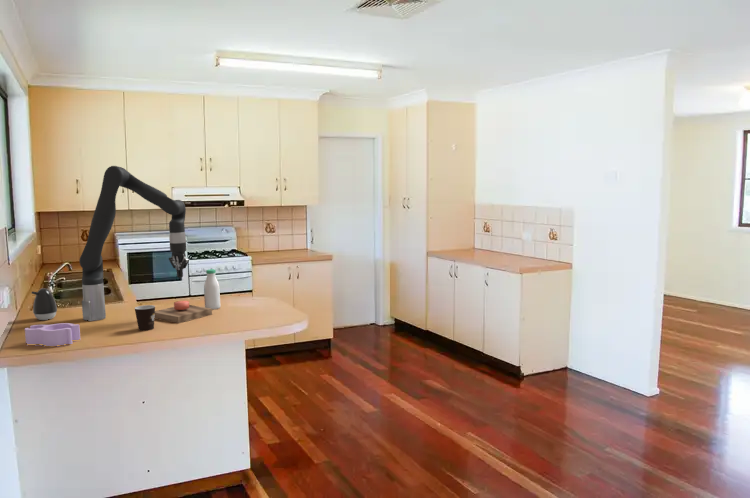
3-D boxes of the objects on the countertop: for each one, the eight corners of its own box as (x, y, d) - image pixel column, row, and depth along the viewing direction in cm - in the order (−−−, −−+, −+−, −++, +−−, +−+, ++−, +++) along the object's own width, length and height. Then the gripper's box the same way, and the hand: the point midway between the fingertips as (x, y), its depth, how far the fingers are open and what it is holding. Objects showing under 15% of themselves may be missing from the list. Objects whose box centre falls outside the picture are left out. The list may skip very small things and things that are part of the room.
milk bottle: (223, 307, 315) (221, 269, 313) (212, 310, 309) (210, 271, 306) (213, 306, 320) (211, 268, 317) (201, 308, 313) (199, 270, 311)
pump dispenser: (30, 319, 296) (27, 288, 294) (53, 315, 303) (50, 285, 301) (37, 322, 289) (35, 291, 287) (61, 318, 296) (58, 288, 295)
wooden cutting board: (178, 323, 283) (178, 316, 283) (151, 318, 295) (151, 311, 294) (212, 314, 300) (211, 308, 300) (185, 310, 311) (185, 304, 311)
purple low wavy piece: (20, 347, 248) (18, 331, 247) (37, 339, 260) (36, 323, 259) (68, 347, 247) (67, 330, 247) (83, 338, 260) (82, 322, 259)
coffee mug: (144, 332, 268) (142, 310, 267) (131, 330, 272) (130, 308, 271) (166, 326, 278) (164, 305, 276) (153, 324, 282) (152, 303, 281)
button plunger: (180, 310, 292) (180, 304, 292) (171, 308, 296) (170, 302, 295) (192, 307, 298) (191, 301, 297) (182, 306, 302) (182, 300, 301)
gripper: (193, 241, 292) (195, 277, 294) (175, 240, 299) (177, 275, 302) (180, 243, 286) (182, 279, 288) (162, 241, 293) (164, 277, 295)
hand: (180, 277), depth 295 cm, fingers closed
